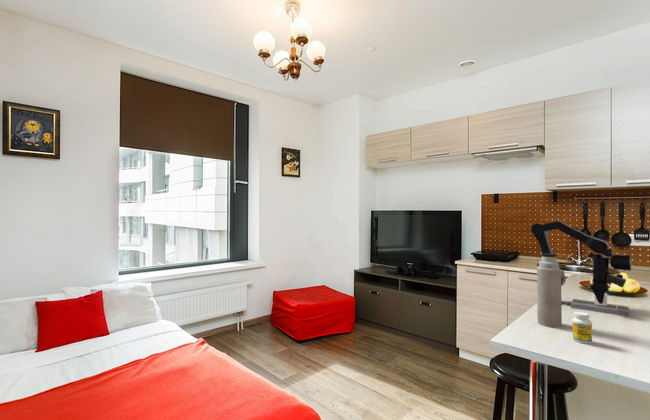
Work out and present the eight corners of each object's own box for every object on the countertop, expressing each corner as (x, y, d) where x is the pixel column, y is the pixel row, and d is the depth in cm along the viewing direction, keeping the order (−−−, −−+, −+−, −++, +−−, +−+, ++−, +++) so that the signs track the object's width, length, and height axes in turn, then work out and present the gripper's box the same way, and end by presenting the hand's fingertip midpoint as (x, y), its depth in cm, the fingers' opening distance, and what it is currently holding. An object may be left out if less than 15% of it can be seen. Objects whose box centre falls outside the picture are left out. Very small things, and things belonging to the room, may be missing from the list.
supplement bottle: (588, 339, 117) (588, 312, 117) (594, 345, 112) (594, 316, 112) (570, 337, 119) (570, 310, 119) (575, 342, 114) (575, 314, 114)
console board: (570, 307, 155) (570, 302, 155) (573, 303, 163) (573, 298, 163) (628, 316, 142) (628, 311, 142) (629, 311, 149) (629, 306, 149)
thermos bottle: (539, 319, 139) (539, 252, 139) (563, 323, 133) (562, 253, 133) (535, 324, 133) (534, 254, 133) (559, 329, 127) (559, 255, 128)
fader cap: (594, 304, 152) (594, 292, 152) (595, 302, 154) (595, 291, 154) (606, 306, 149) (606, 294, 149) (607, 304, 152) (607, 292, 152)
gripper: (623, 273, 139) (624, 310, 139) (625, 267, 153) (625, 301, 153) (589, 270, 147) (590, 305, 147) (594, 264, 160) (594, 297, 160)
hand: (601, 302), depth 152 cm, fingers closed on fader cap, 4 cm apart
